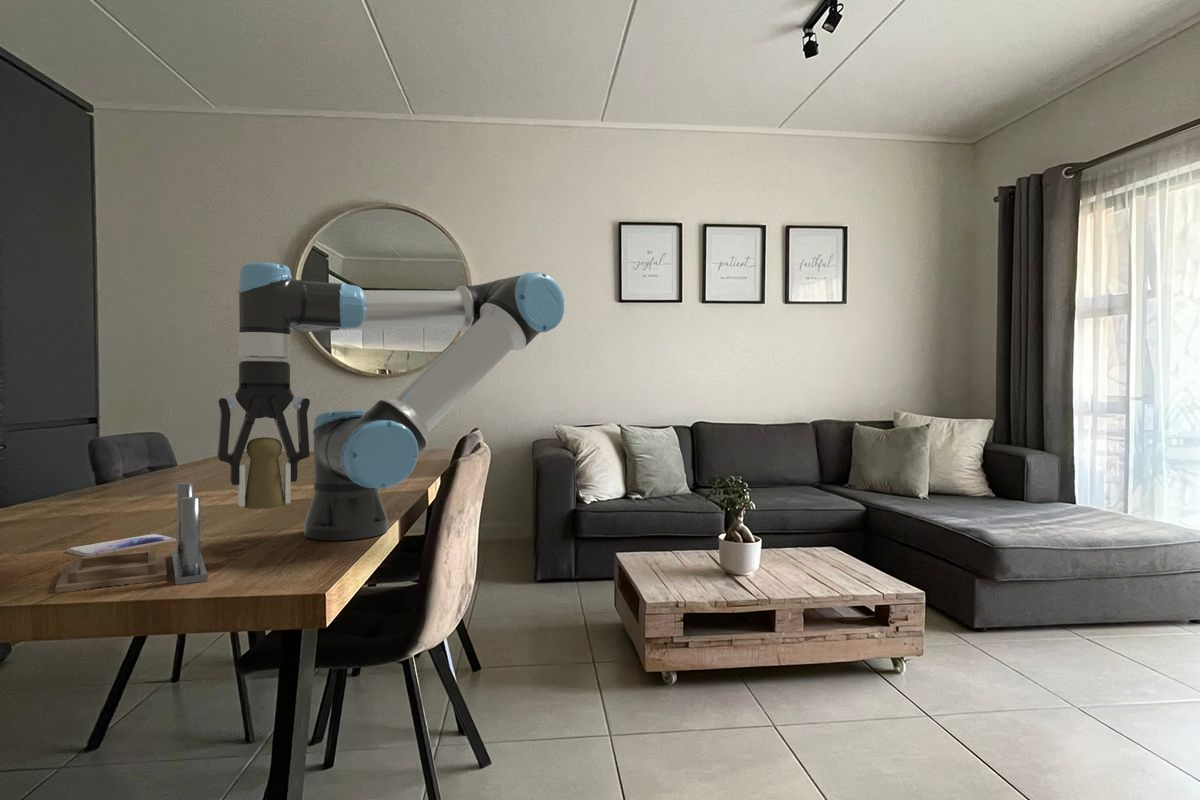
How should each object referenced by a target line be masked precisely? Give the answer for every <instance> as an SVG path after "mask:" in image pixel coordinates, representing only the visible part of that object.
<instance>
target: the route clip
mask: <svg viewBox="0 0 1200 800" xmlns="http://www.w3.org/2000/svg"><path fill="white" fill-rule="evenodd" d="M176 504H177V506H176V507H177V508H176V509H177V510H176V511H177V512H176V513H177V514H176V516H177V517H176V518H177V519H176V520H177V521H176V522H177V523H176V524H177V525H176V526H177V528H176V529H177V532H176V534H177V539H176V541H177V549H171V561H172V568H173V569H172V570H173V575H174V584H176V585H175V586H177V585H178V584H179V585H186V584H194V583H195V584H196V583H203V582H208V581H209V580H208V571H207V568H206V565H205V562H204V558H203V555H202V552H201V497H200V496H195V483H194V482H179V483H177V484H176Z"/></svg>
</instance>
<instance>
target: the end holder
mask: <svg viewBox="0 0 1200 800" xmlns="http://www.w3.org/2000/svg"><path fill="white" fill-rule="evenodd" d="M156 554H157V553H156V550H155V549H153V550H144V551H136V552H135V551H133V552H122V553H113V554H112V553H110V554H101V555H96V556H90V557H83V556H79V557H74V558H73V561H72V563H71V565H67V566H64V567H63V570H62V572H61V573H60V576H59V578H58V580H57V583H56V585H55V591H54V592H55V594H59V593H60V594H61V593H68V592H76V590H78V591H84V589H86V590H92V589H91V588H95V589H98V588H97V587H103V588H107V587H106V586H112V587H116V586H115V585H121V586H125V585H124V584H129V585H136V584H135V583H138V584H144V583H145V584H146V583H153V582H155V583H156V582H163V581H167V580H168V572H167V564H166V563H167V562H166V556H165V555H163V556H157V555H156Z"/></svg>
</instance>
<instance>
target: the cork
mask: <svg viewBox="0 0 1200 800" xmlns="http://www.w3.org/2000/svg"><path fill="white" fill-rule="evenodd" d="M247 442H248V443H246V454H247V456H248V458H249V459H250V461H249V467H248V474H247V481H246V486H245V506H243V508H244V509H253V510H254V509H255V510H259V509H260V510H262V509H265V510H266V509H273V508H274V509H276V508H279V507H280V508H281V507H284V506H285V504H286V503H284V496H283V481H282V476H281V468H280V462H279V457H280V455H282V451H283V444H282V441H280V440H279V439H277V438H274V437H267V436H266V437H257V438H252V439H251V440H248V441H247Z"/></svg>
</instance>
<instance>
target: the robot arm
mask: <svg viewBox="0 0 1200 800" xmlns="http://www.w3.org/2000/svg"><path fill="white" fill-rule="evenodd" d="M238 287H239V288H238V291H237V293H238V311H239V312H238V315H239V317H238V320H239V321H238V322H239V323H238V325H239V326H238V327H239V329H238V330H239V331H238V332H239V333H238V338H239V339H238V357H239V358H241V359H242V361H240V363H238V388H237V390H236V392H235V394H234V395H232V396H228V397H220V398H218V399H217V405H218V408H219V411H220V417H219V418H220V419H219V435H218V447H217V459H218V460H219V461H220V462H224V463H227V464H229V465H230V471H229V473H230V476H229V477H230V483H231V485H232V486H237V505H238V506H239V507H244V506H245V494H246V464H245V463H241V461H242V457H243V454H244V451H245V449H246V447H247V444H248V443H247V442H249V438H250V435H251V431H252V429H253V426H254V424H255V422H256V419H262V418H268V419H273V420H274V423H275V425H276V427H277V428H276V429H277V431H278V433H279V436H280V439H281V444H282V447H283V448H284V451H285V454H286V457H287V461H282V489H283V496H284V503H285V504H291V488H292V487H291V483H295V482H297V481H298V463H299V462H300V461H301V460H303V459H307V458H309V457H310V439H309V437H310V436H309V425H308V410H309V407H310V404H311V401H310V399H309V398H307V397H306V398H305V397H300V396H296V395H294V393H293V391H292V389H291V364H290V363H289V362H288V361H287V360H289V359H290V358H291V330H292V331H293V332H298V333H310V332H325V331H328V332H329V331H330V332H331V331H332V332H333V331H351V330H352V331H354V330H355V331H356V330H364V331H365V330H391V329H392V330H395V329H399V330H400V329H433V328H434V329H435V328H436V329H437V328H456V329H457V330H458V331H459V332H462V334H461V335H460V336H459V337H458V338H457V339H456V340H455V341H454V342H453V343H452V344H451V345H450V346H448V347H447V348H446V350H444V351H443V352H442V353H441V354H440V355H439V356H438V357H436V359H434V360H433V362H432V363H430V364H429V365H428V366H427V367H426V368H425V369H424V370H423V371H421V373H419V375H418V376H416V378H414V379H413V380H412V381H411V382H410V383H409V384H408V385H407V386H405V387H404V388H403V390H401V391H400V392H399V394H397V395H396V396H395V397H394V398H393V399H391V398H390V399H389V398H388V399H386V398H381V399H379V400H378V401H376V403H375V404H374V405H373V406H372V407H370V409H368V410H361V409H358V410H357V409H356V410H355V409H354V410H353V409H352V410H339V411H328V412H327V411H326V412H322V413H320V414H318V415H316V416H315V418H314V420H313V429H312V436H313V496H312V499H311V502H310V504H309V509H308V511H307V514H306V517H305V520H304V523H303V535H304V537H306V538H308V539H311V540H316V541H317V540H319V541H348V540H349V541H350V540H361V539H367V538H373V537H378V536H380V535H384V534H387V532H388V531H389V522H388V521H389V520H388V516H387V513H386V509H385V507H384V504H383V500H382V498H381V496H380V491H379V489H385V488H386V489H387V488H390V487H391V488H392V487H394V486H396V485H399V484H401V483H402V482H403V481H405V480H406V479H407V478H408V477H409V476H411V474H412V472H413V471H414V469H415V467H416V465H417V462H418V461H419V460H418V455H419V454H420V453H421V451H422V450H424V449H425V447H427V446H428V443H429V441H428V439H429V437H428V434H429V432H431V430H432V429H433V428H434V427H435V426H436V425H437V424H439V422H440V421H441V420H442V419H443V418H444V417H445V416H446V415H448V413H449V412H450V411H452V409H453V408H454V407H455V406H456V405H458V403H459V402H460V401H461V400H462V399H463V398H464V397H465V396H466V395H467V394H468V393H469V392H470V391H471V390H472V389H473V388H474V387H476V386H477V384H478V383H479V382H481V380H483V379H484V377H486V376H487V375H488V373H489V372H490V371H491V370H492V369H494V368H495V366H496V365H497V364H499V362H501V361H502V360H503V358H504V357H506V356H507V355H508V354H509V353H510V352H511V351H522V350H524V349H525V348H526V346H528V345H529V344H530V343H531V342H532V341H533V340H534V339H535V338H536V337H537V336H538V335H539V334H540V333H547V332H549V331H552V330H554V329H555V328H557V327H558V325H559V324H560V323H561V322H562V320H563V317H564V314H565V298H564V293H563V290H562V289H561V287H560V285H559V283H558V282H556V280H555V279H553V277H552V276H550V275H548V274H546V273H543V272H540V271H539V272H533V271H530V272H529V271H528V272H525V273H523V274H520V275H515V276H510V277H506V278H505V277H504V278H500V279H497V280H493V281H489V282H484V283H480V284H476V285H475V284H474V285H459V286H457V287H456V289H455V290H409V289H408V290H403V289H401V290H397V289H396V290H391V289H390V290H389V289H388V290H386V289H385V290H383V289H382V290H381V289H379V290H376V289H375V290H373V289H370V290H369V289H368V290H367V289H365V290H364V289H362V288H361V287H360V286H358V285H354V284H347V283H344V282H341V283H337V282H336V283H335V282H326V281H325V282H323V281H312V280H311V281H310V280H301V279H296V278H293V276H292V275H291V269H290V268H289V267H288V266H286V265H285V264H278V263H273V262H262V261H261V262H256V261H255V262H248V263H246V264H245V263H244V265H242V266H241V268H240V272H239V285H238ZM236 403H238V404H239V405H240V407H241V408H242V409H243V411H244V412H245V415H244V418H243V420H242V424H241V428H240V431H239V434H238V436H237V439H236V442H235V445H234V448H233V450H232V453H231V454H229V444H230V443H229V442H230V441H229V440H230V430H231V429H230V428H231V417H232V416H231V415H232V414H231V411H233V410H234V409H235V404H236ZM291 403H292V404H293V408H294V410H296V424H297V426H296V427H297V437H298V439H297V440H298V451H296V448H295V445H294V442H293V439H292V436H291V433H290V431H289V427H288V425H287V421H286V418H285V415H284V412H285V410H286V409H287V408H288V406H290V405H291Z"/></svg>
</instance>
